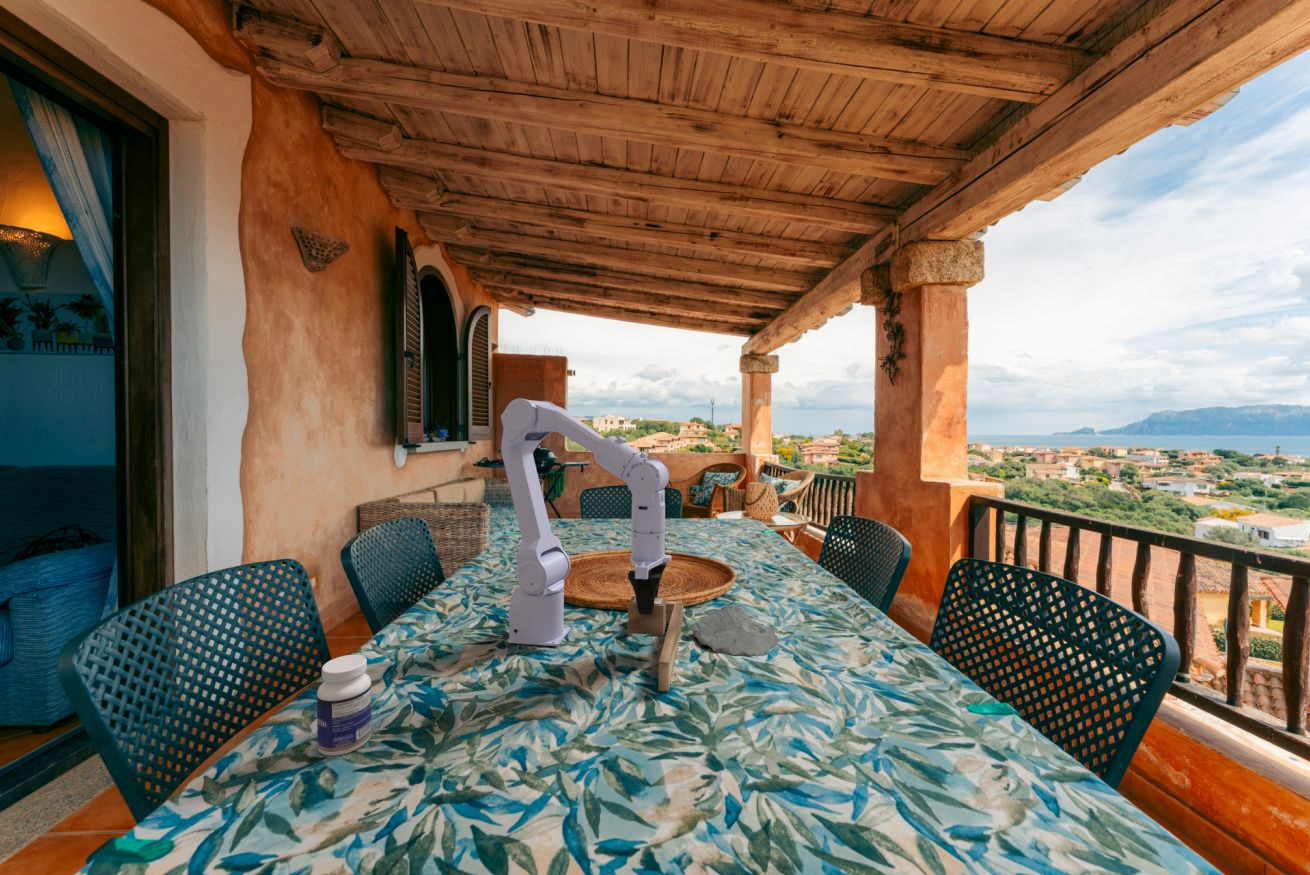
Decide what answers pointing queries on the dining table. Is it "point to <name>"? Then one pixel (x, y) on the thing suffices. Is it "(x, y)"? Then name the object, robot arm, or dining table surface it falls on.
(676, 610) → the wooden bracket
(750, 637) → the stone
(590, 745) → the dining table surface
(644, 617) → the cabinet block
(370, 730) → the pill bottle
